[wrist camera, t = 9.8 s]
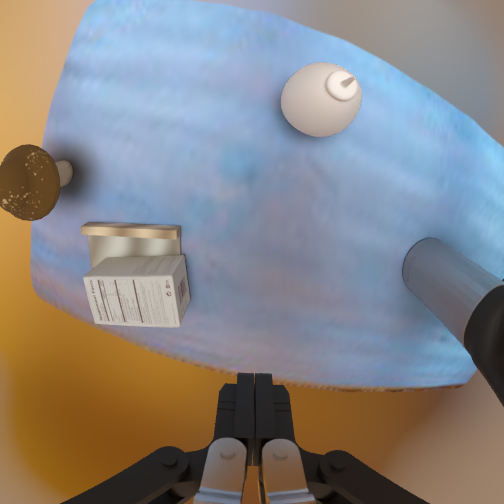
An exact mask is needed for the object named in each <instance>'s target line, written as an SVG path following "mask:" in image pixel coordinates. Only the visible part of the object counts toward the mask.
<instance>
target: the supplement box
mask: <svg viewBox="0 0 504 504" xmlns="http://www.w3.org/2000/svg"><path fill="white" fill-rule="evenodd" d="M83 280H84V284H85V288H86V292H87V296H88V299H89V303H90V307H91V310H92V314H93V317H94V320H95V323H96V324H108V325H123V326H143V327H173V328H179V327H180V326H181V321H182V318H183V316H184V313H185V310H186V308H187V305H188V303H189V301H190V294H189V286H188V279H187V272H186V264H185V257H184V255H166V256H137V257H106V258H105V259H104V260H102V261H101V262H100V263H99V264H97V265H96V266H95V267H94V268H93V269H91V270H90V271H89V272H88V273H87V274H85V275H84V276H83Z"/></svg>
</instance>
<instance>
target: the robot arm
mask: <svg viewBox="0 0 504 504" xmlns="http://www.w3.org/2000/svg"><path fill="white" fill-rule="evenodd" d="M403 279H404V282H405V284H406V285H407V286H408V287H409V289H410V290H411V291H412V292H413V293H414V294H415V295H416V296H417V297H418V298H419V299H420V300H421V301H422V302H423V303H424V304H425V305H426V306H427V307H428V308H429V309H430V310H431V312H432V313H433V314H434V315H435V316H436V317H437V318H438V319H439V320H440V321H441V322H442V323H443V324H444V326H445V327H446V328H447V329H448V330H449V331H450V332H451V333H452V334H453V335H454V336H455V338H456V339H457V340H458V341H459V342H460V343H461V344H462V346H463V347H464V348H465V349H466V350H467V351H468V353H469V354H470V355H471V357H472V360H473V362H474V364H475V365H476V367H477V368H478V369H479V370H480V372H481V373H482V375H483V376H484V377H485V379H486V380H487V382H488V383H489V385H490V386H491V388H492V389H493V391H494V392H495V394H496V395H497V397H498V399H499V400H500V402H501V403H502V405H503V406H504V282H503V281H502V280H500V279H499V278H497V277H496V276H495V275H493V274H491V273H490V272H489V271H487V270H486V269H484V268H483V267H481V266H480V265H478V264H477V263H475V262H473V261H472V260H470V259H469V258H467V257H466V256H464V255H463V254H461V253H459V252H458V251H456V250H454V249H453V248H451V247H450V246H448V245H446V244H445V243H443V242H441V241H440V240H438V239H435V238H426V239H424V240H421V241H420V242H418V243H417V244H415V245H414V246H413V247H412V249H411V250H410V251H409V253H408V254H407V256H406V258H405V261H404V264H403ZM252 454H253V466H258V470H259V471H258V489H259V498H260V504H430V503H427V502H426V501H424V500H422V499H420V498H419V497H417V496H415V495H414V494H411V493H410V492H408V491H407V490H405V489H403V488H402V487H400V486H398V485H397V484H395V483H393V482H392V481H390V480H389V479H387V478H385V477H384V476H382V475H380V474H379V473H378V472H376V471H375V470H373V469H371V468H370V467H368V466H367V465H365V464H364V463H362V462H361V461H360V460H358V459H356V458H355V457H354V456H352V455H351V454H349V453H348V452H345V451H342V450H335V451H330V452H328V453H326V454H325V455H320V454H315V453H310V452H307V451H305V450H303V449H302V448H300V447H299V446H298V444H297V443H296V441H295V437H294V429H293V421H292V413H291V405H290V397H289V393H288V391H287V390H286V388H285V387H284V385H273V383H272V374H264V373H255V383H254V373H238V375H237V384H227V383H226V384H225V385H224V386H223V387H222V389H221V390H220V391H219V398H218V406H217V415H216V423H215V431H214V438H213V440H212V442H211V443H210V444H209V445H208V446H207V447H206V448H204V449H201V450H198V451H192V452H185V453H184V452H183V451H182V450H181V449H179V448H176V447H172V446H166V447H162V448H159V449H157V450H156V451H154V452H153V453H151V454H150V455H148V456H146V457H145V458H143V459H142V460H140V461H138V462H137V463H135V464H133V465H132V466H130V467H128V468H127V469H125V470H123V471H122V472H120V473H118V474H116V475H115V476H113V477H111V478H110V479H108V480H106V481H104V482H102V483H100V484H99V485H97V486H95V487H93V488H91V489H89V490H87V491H85V492H83V493H81V494H79V495H77V496H75V497H73V498H71V499H69V500H67V501H65V502H63V503H61V504H184V503H185V502H186V501H188V500H189V499H190V498H192V497H193V496H195V498H194V502H193V504H242V499H243V492H244V483H245V481H246V477H247V466H251V465H252Z"/></svg>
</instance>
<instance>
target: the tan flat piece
mask: <svg viewBox="0 0 504 504" xmlns="http://www.w3.org/2000/svg"><path fill="white" fill-rule="evenodd" d="M81 234H82V235H88V241H89V250H90V259H91V266H92V269H93V268H94V267H95V266H96V265H97V264H99V263H100V262H101V261H102V260H104V259H105V258H106V257H137V256H166V255H181V226H174V225H152V224H128V223H100V222H88V223H86V224H84V225H82V226H81Z"/></svg>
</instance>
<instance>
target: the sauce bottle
mask: <svg viewBox="0 0 504 504" xmlns="http://www.w3.org/2000/svg"><path fill="white" fill-rule="evenodd" d="M361 101H362V92H361V87H360V85H359V83H358V81H357V79H356V77H355V76H353V75H352V74H351V73H350V72H349V71H347V70H346V69H344V68H342V67H340V66H338V65H335V64H331V63H320V62H319V63H313V64H309V65H307V66H305V67H303V68H301V69H299V70H298V71H297V72H296V73H294V74H293V75H292V76H291V78H290V79H289V80H288V81H287V83H286V85H285V87H284V89H283V92H282V95H281V109H282V112H283V114H284V116H285V118H286V119H287V121H288V122H289V123H290V124H291V125H292V126H293V127H295V128H296V129H297V130H299V131H301V132H303V133H305V134H307V135H310V136H315V137H328V136H332V135H335V134H337V133H339V132H341V131H342V130H344V129H345V128H346V127H347V126H348V125H350V123H351V122H352V121H353V120H354V118H355V117H356V115H357V113H358V111H359V109H360V105H361Z"/></svg>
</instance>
